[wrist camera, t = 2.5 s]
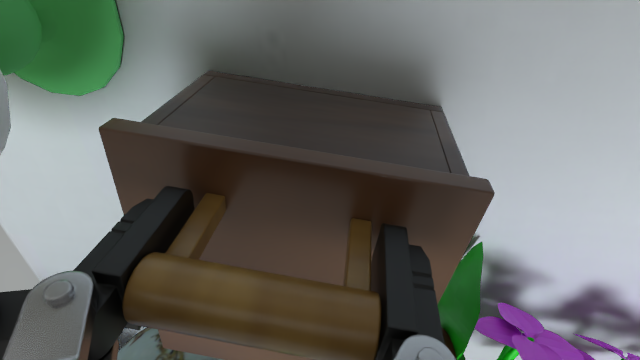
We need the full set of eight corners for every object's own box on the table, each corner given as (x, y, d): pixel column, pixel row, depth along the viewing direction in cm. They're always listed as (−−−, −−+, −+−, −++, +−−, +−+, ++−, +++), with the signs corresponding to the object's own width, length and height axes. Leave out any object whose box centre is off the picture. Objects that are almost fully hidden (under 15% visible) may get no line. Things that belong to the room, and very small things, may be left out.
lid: (113, 116, 11) (-53, 226, 7) (488, 178, 11) (567, 339, 6) (169, 334, 19) (108, 452, 15) (391, 377, 18) (397, 513, 14)
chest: (207, 70, 18) (119, 137, 12) (441, 106, 18) (479, 197, 11) (221, 236, 25) (170, 333, 19) (387, 266, 25) (392, 376, 18)
